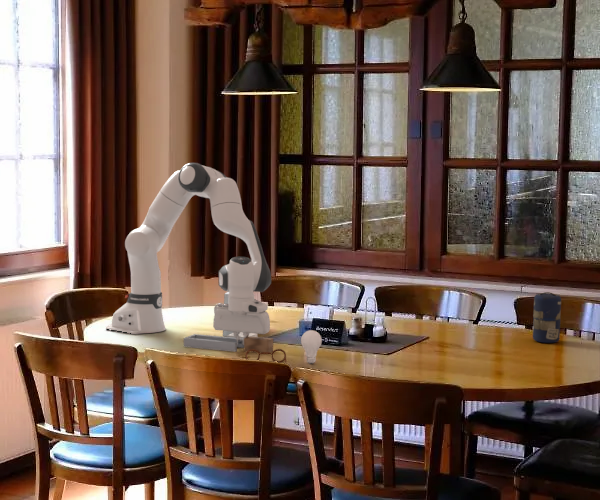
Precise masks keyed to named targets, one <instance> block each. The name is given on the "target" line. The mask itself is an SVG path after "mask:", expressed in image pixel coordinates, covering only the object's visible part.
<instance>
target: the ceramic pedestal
mask: <svg viewBox="0 0 600 500" xmlns="http://www.w3.org/2000/svg"><path fill="white" fill-rule="evenodd" d="M244 336H245V335H244ZM244 336H243V332H240V334H239V337H240V338H242V339H243V338H244ZM249 336H252V337H259V336H258V334H256V333H249ZM249 336H248V337H249ZM226 337H232V338H235V336H234V333H232V334H229V335H227V336H226Z"/></svg>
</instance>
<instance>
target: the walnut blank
mask: <svg viewBox="0 0 600 500" xmlns="http://www.w3.org/2000/svg"><path fill="white" fill-rule="evenodd" d="M250 349H255V350H257V351H259V352H260V353H262V352H270V353H272V352H273V351H274V338H272V337H263V336H262V337H261V336H258V337H252V336H249V337H246V338H244V348H243V351H244V352H245V353H246V352H247V351H248V350H250ZM250 353H256V354H258V353H257V352H255V351H251V352H250Z"/></svg>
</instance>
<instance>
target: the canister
mask: <svg viewBox="0 0 600 500" xmlns="http://www.w3.org/2000/svg"><path fill="white" fill-rule="evenodd" d="M533 299H534V300H533V314H532V316H533V324H532V325H533V326H532V340H534V341H536V342H537V343H538V342H540V343H547V344H551V343H552V344H553V343H554V344H555V343H558V342H559V341H560V338H561V337H560V333H561V332H560V331H561V312H562V311H561V310H562V297H561V296H560V295H559V294H555V293H553V292H548V291H546V292H545V291H544V292H541V293H537V294H535V295H534V297H533Z"/></svg>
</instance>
